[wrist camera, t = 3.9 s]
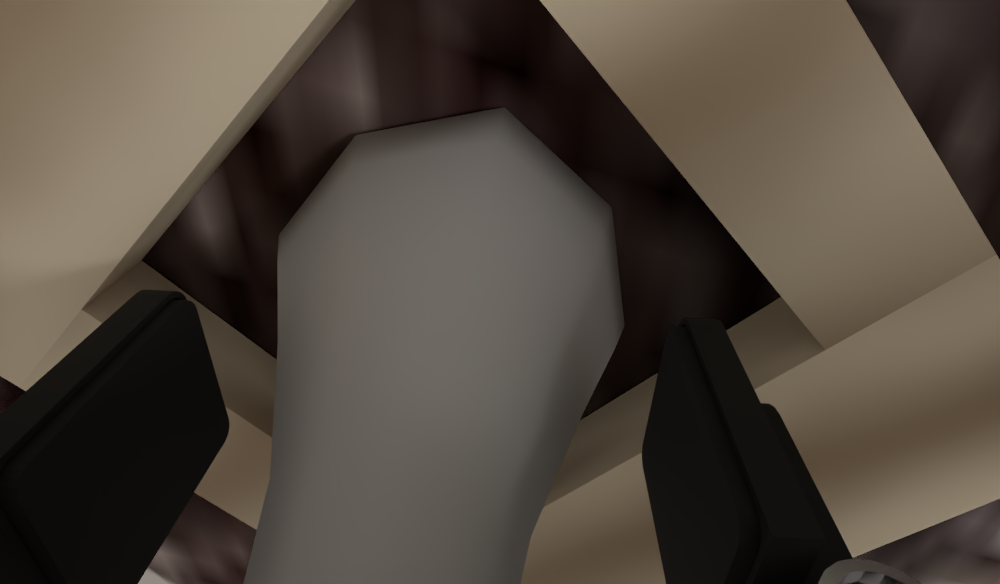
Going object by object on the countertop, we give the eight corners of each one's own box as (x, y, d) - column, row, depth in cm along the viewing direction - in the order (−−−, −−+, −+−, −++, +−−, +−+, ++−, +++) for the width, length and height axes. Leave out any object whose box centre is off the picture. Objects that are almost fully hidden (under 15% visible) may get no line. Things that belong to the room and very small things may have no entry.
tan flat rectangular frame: (1041, 387, 13) (1114, 452, 12) (524, 625, 20) (523, 690, 18) (231, -904, 6) (105, -1251, 4) (-189, 154, 12) (-308, 190, 10)
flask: (525, 30, 10) (457, 518, 2) (676, 332, 13) (924, 1042, 5) (223, 213, 12) (-478, 828, 4) (414, 435, 15) (261, 1051, 7)
